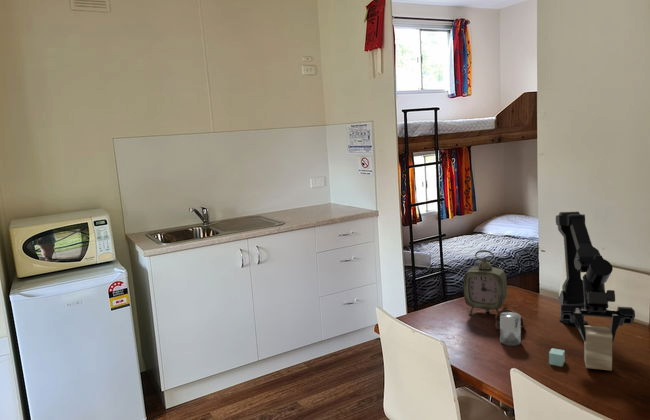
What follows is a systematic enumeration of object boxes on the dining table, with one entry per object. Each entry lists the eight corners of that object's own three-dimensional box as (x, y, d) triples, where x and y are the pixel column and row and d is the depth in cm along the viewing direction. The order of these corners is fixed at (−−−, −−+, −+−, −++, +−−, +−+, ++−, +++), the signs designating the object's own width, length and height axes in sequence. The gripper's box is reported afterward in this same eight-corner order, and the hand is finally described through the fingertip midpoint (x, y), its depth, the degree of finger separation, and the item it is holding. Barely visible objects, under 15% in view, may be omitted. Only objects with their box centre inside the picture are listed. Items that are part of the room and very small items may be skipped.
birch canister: (584, 359, 145) (584, 325, 144) (609, 361, 143) (609, 327, 141) (586, 367, 140) (586, 333, 139) (611, 370, 138) (612, 335, 136)
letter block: (551, 359, 150) (551, 348, 149) (564, 361, 148) (564, 350, 147) (549, 364, 147) (549, 352, 146) (562, 366, 145) (562, 355, 144)
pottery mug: (531, 334, 169) (522, 317, 166) (505, 346, 171) (496, 329, 168) (519, 313, 180) (510, 297, 177) (495, 324, 182) (485, 309, 179)
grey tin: (512, 336, 167) (512, 310, 166) (524, 343, 161) (525, 317, 160) (495, 339, 166) (496, 313, 164) (507, 346, 159) (508, 320, 158)
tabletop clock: (464, 315, 189) (461, 251, 185) (470, 307, 196) (468, 246, 192) (503, 320, 181) (502, 254, 177) (508, 311, 189) (507, 248, 185)
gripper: (560, 277, 145) (563, 327, 137) (634, 280, 138) (641, 333, 130) (559, 294, 153) (561, 342, 145) (629, 297, 146) (635, 348, 138)
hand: (598, 341), depth 139 cm, fingers closed on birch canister, 6 cm apart
